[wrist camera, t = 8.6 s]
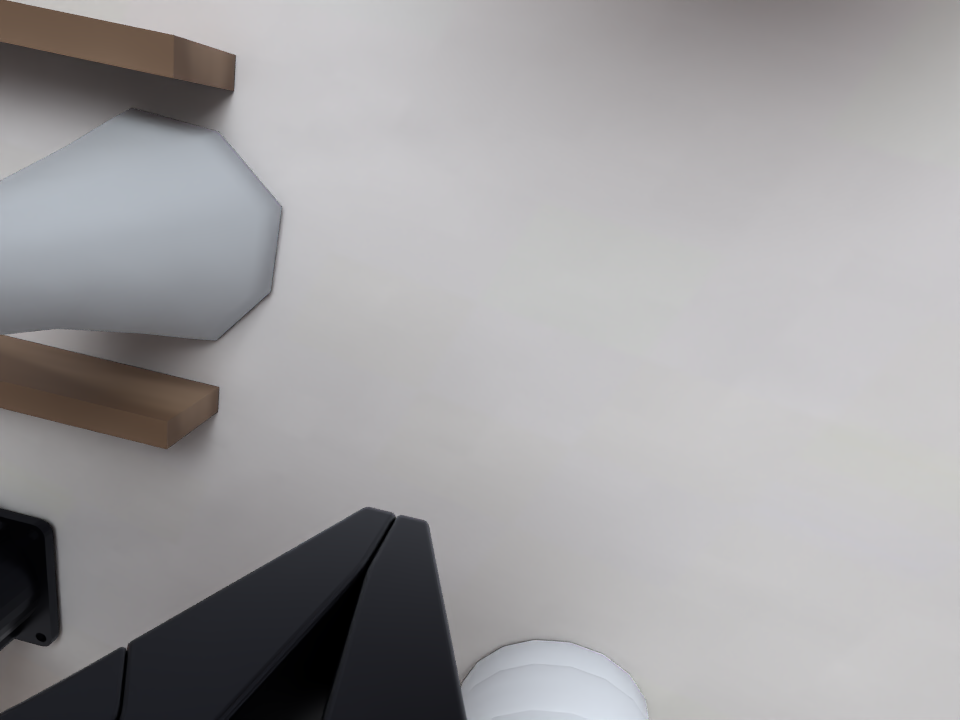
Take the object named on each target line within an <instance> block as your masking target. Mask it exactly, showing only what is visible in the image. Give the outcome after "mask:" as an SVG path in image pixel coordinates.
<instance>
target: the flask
mask: <svg viewBox="0 0 960 720" xmlns="http://www.w3.org/2000/svg"><path fill="white" fill-rule="evenodd" d="M281 210H282V206H281V205H280V204H279V202H278V201H277V200H276V199H275V198H274V196H273V195H272V194H271V193H270V192H269V190H268V189H267V188H266V187H265V186H264V185H263V183H262V182H261V181H260V180H259V179H258V177H257V176H256V175H255V174H254V173H253V172H252V170H251V169H250V168H249V167H248V166H247V164H246V163H245V162H244V161H243V160H242V158H241V157H240V156H239V155H238V154H237V153H236V151H235V150H234V149H233V148H232V147H231V145H230V144H229V143H228V142H227V141H226V140H225V138H224V137H223V136H222V135H221V134H220V132H218V131H215V130H211V129H207V128H204V127H200V126H196V125H193V124H189V123H186V122H182V121H178V120H175V119H171V118H167V117H164V116H160V115H156V114H153V113H149V112H145V111H142V110H138V109H134V108H130V109H129V110H127V111H125V112H123V113H121V114H119V115H117V116H115V117H114V118H112V119H110V120H109V121H107V122H105V123H104V124H102V125H100V126H99V127H97V128H95V129H94V130H92V131H90V132H89V133H87V134H86V135H84V136H82V137H81V138H79V139H77V140H76V141H74V142H72V143H71V144H69V145H67V146H66V147H64V148H62V149H60V150H58V151H56V152H54V153H52V154H50V155H49V156H47V157H45V158H43V159H41V160H39V161H37V162H35V163H33V164H31V165H29V166H28V167H26V168H24V169H22V170H20V171H18V172H16V173H14V174H12V175H10V176H8V177H6V178H5V179H3V180H1V181H0V335H4V334H13V333H22V332H31V331H40V330H49V329H72V330H90V331H108V332H125V333H142V334H151V335H161V336H171V337H180V338H190V339H201V340H217V339H218V338H219V337H220V336H222V335H223V334H224V333H225V332H226V331H227V330H228V329H229V328H231V327H232V326H233V325H234V324H235V323H236V322H237V321H238V320H240V319H241V318H242V317H243V316H244V315H245V314H246V313H247V312H248V311H250V310H251V309H252V308H253V307H254V306H255V305H256V304H257V303H259V302H260V301H261V300H262V299H263V298H264V297H265V296H266V295H268V294H269V293H270V292H271V286H272V279H273V271H274V263H275V256H276V248H277V240H278V233H279V225H280V217H281Z"/></svg>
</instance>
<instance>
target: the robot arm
mask: <svg viewBox="0 0 960 720" xmlns="http://www.w3.org/2000/svg"><path fill="white" fill-rule="evenodd" d="M58 636H59V627H58V611H57V594H56V578H55V562H54V546H53V532H52V528H51V526H50V525H49V524H48V523H47V522H46V521H44V520H42V519H39V518H35V517H31V516H27V515H23V514H19V513H15V512H11V511H8V510H4V509H0V651H1V650H2V649H3V648H4V647H5V646H6V645H7V644H9V643H10V642H11V641H12V640H13V639H18V640H21V641H25V642H29V643H32V644H36V645H40V646H49V645H50V644H51V643H52V642H53V641H54V640H55V639H56V638H57V637H58ZM0 720H467V716H466V711H465V706H464V701H463V696H462V691H461V686H460V681H459V676H458V671H457V666H456V661H455V656H454V651H453V646H452V640H451V635H450V630H449V625H448V620H447V615H446V610H445V605H444V600H443V595H442V590H441V585H440V580H439V575H438V570H437V565H436V559H435V554H434V549H433V544H432V539H431V534H430V529H429V525H428V523H427V522H426V521H424V520H421V519H416V518H412V517H408V516H404V515H400V516H398V517H397V518H396V517H395V515H394V513H392V512H388V511H384V510H380V509H376V508H372V507H366V508H363V509H361V510H359V511H358V512H356V513H354V514H352V515H351V516H349V517H347V518H345V519H344V520H342V521H340V522H338V523H337V524H335V525H333V526H331V527H330V528H328V529H326V530H324V531H323V532H321V533H319V534H317V535H316V536H314V537H312V538H310V539H309V540H307V541H305V542H304V543H302V544H300V545H298V546H297V547H295V548H293V549H291V550H290V551H288V552H286V553H284V554H283V555H281V556H279V557H277V558H276V559H274V560H272V561H270V562H269V563H267V564H265V565H263V566H262V567H260V568H258V569H256V570H255V571H253V572H251V573H250V574H248V575H246V576H244V577H243V578H241V579H239V580H237V581H236V582H234V583H232V584H230V585H229V586H227V587H225V588H223V589H222V590H220V591H218V592H216V593H215V594H213V595H211V596H209V597H208V598H206V599H204V600H202V601H201V602H199V603H197V604H196V605H194V606H192V607H190V608H189V609H187V610H185V611H183V612H182V613H180V614H178V615H176V616H175V617H173V618H171V619H169V620H168V621H166V622H164V623H162V624H161V625H159V626H157V627H155V628H154V629H152V630H150V631H148V632H147V633H145V634H143V635H141V636H140V637H138V638H136V639H135V640H133V641H131V642H130V643H129V644H128V647H127V650H126V648H124V647H120V648H118V649H117V650H115V651H113V652H111V653H110V654H108V655H106V656H104V657H103V658H101V659H99V660H97V661H96V662H94V663H92V664H90V665H89V666H87V667H85V668H83V669H82V670H80V671H78V672H76V673H74V674H72V675H71V676H69V677H67V678H65V679H63V680H62V681H60V682H58V683H56V684H54V685H52V686H51V687H49V688H47V689H45V690H43V691H41V692H40V693H38V694H36V695H34V696H32V697H30V698H29V699H27V700H25V701H23V702H21V703H19V704H17V705H15V706H13V707H11V708H10V709H8V710H6V711H4V712H2V713H0Z"/></svg>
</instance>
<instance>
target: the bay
mask: <svg viewBox="0 0 960 720" xmlns="http://www.w3.org/2000/svg"><path fill="white" fill-rule="evenodd" d="M0 42H5V43H9V44H14V45H19V46H24V47H28V48H33V49H38V50H42V51H47V52H52V53H57V54H61V55H66V56H71V57H75V58H80V59H85V60H89V61H94V62H99V63H104V64H108V65H113V66H118V67H122V68H127V69H132V70H137V71H141V72H146V73H151V74H155V75H160V76H165V77H170V78H174V79H179V80H184V81H188V82H193V83H198V84H203V85H207V86H212V87H217V88H222V89H226V90H231V91H234V75H235V55H233V54H230V53H227V52H224V51H221V50H218V49H215V48H212V47H209V46H206V45H202V44H199V43H196V42H193V41H190V40H187V39H184V38H181V37H178V36H175V35H170V34H165V33H161V32H156V31H151V30H146V29H141V28H136V27H132V26H127V25H122V24H117V23H112V22H108V21H103V20H98V19H93V18H88V17H84V16H79V15H74V14H69V13H64V12H60V11H55V10H50V9H45V8H40V7H36V6H31V5H26V4H21V3H16V2H12V1H7V0H0ZM218 398H219V387H216V386H212V385H208V384H204V383H200V382H196V381H191V380H187V379H183V378H179V377H175V376H171V375H167V374H162V373H158V372H154V371H150V370H146V369H142V368H137V367H133V366H129V365H125V364H121V363H117V362H113V361H108V360H104V359H100V358H96V357H92V356H88V355H84V354H79V353H75V352H71V351H67V350H63V349H59V348H55V347H50V346H46V345H42V344H38V343H34V342H30V341H26V340H21V339H17V338H13V337H9V336H5V335H0V408H3V409H7V410H11V411H15V412H19V413H23V414H27V415H31V416H35V417H39V418H43V419H47V420H51V421H55V422H59V423H63V424H67V425H71V426H75V427H79V428H83V429H87V430H91V431H95V432H99V433H104V434H108V435H112V436H116V437H120V438H124V439H128V440H132V441H136V442H140V443H144V444H148V445H152V446H156V447H160V448H164V449H168V448H169V447H171V446H172V445H173V444H175V443H176V442H177V441H179V440H180V439H181V438H183V437H184V436H186V435H187V434H188V433H190V432H191V431H192V430H194V429H195V428H196V427H198V426H199V425H200V424H202V423H203V422H204V421H206V420H207V419H209V418H210V417H211V416H213V415H214V414H215V413H217V412H218Z"/></svg>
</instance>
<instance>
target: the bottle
mask: <svg viewBox="0 0 960 720" xmlns="http://www.w3.org/2000/svg"><path fill="white" fill-rule="evenodd" d="M461 691H462V696H463V701H464V706H465V711H466V716H467V720H649V718H648V711H647V705H646V699H645V697H644V695H643V694H642V692H641V691H640V689H639V688H638V686H637V685H636V683H635V682H634V680H633V679H632V677H631V676H630V674H629V673H628V672H626V671H625V670H624V669H622V668H621V667H620V666H618V665H617V664H616V663H614V662H613V661H612V660H610V659H609V658H608V657H606V656H605V655H604V654H601V653H598V652H596V651H593V650H590V649H587V648H585V647H582V646H579V645H576V644H573V643H571V642H559V641H545V640H532V641H527V642H523V643H518V644H513V645H509V646H504V647H502V648H500V649H498V650H497V651H495V652H493V653H492V654H490V655H488V656H487V657H485V658H483V659H482V660H480V661H478V662H477V664H476V665H475V666H474V668H473V669H472V670H471V672H470V673H469V675H468V676H467V677H466V679H465V680H464V681H463V683H462V687H461Z"/></svg>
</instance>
